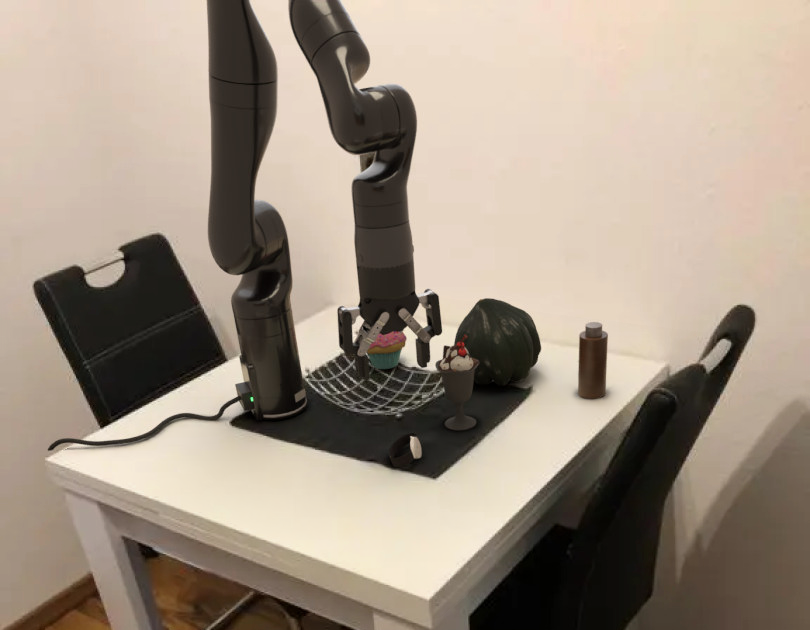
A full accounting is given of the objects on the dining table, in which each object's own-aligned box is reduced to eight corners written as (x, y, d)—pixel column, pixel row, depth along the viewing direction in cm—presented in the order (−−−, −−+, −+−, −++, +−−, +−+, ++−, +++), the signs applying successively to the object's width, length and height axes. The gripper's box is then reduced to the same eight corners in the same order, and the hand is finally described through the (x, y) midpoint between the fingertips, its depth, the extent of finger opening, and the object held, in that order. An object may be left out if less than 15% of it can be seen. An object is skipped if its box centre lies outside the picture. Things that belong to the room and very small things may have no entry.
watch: (415, 471, 131) (413, 449, 129) (384, 470, 132) (381, 448, 130) (426, 446, 137) (424, 424, 135) (396, 445, 138) (393, 423, 136)
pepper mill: (586, 401, 146) (589, 332, 139) (572, 391, 149) (574, 323, 143) (610, 394, 147) (613, 326, 140) (596, 385, 150) (598, 317, 144)
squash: (557, 329, 158) (498, 267, 153) (554, 367, 146) (490, 301, 141) (498, 379, 165) (440, 322, 161) (490, 419, 153) (427, 358, 149)
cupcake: (416, 359, 166) (411, 295, 159) (391, 376, 160) (385, 311, 154) (378, 352, 170) (371, 289, 164) (352, 369, 164) (344, 305, 158)
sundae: (479, 433, 139) (475, 340, 131) (436, 432, 141) (429, 340, 133) (484, 414, 145) (481, 324, 136) (443, 414, 146) (437, 324, 138)
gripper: (424, 240, 123) (430, 353, 132) (324, 258, 119) (337, 373, 128) (446, 254, 117) (451, 371, 126) (341, 274, 113) (354, 393, 122)
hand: (393, 372), depth 127 cm, fingers open, 8 cm apart
